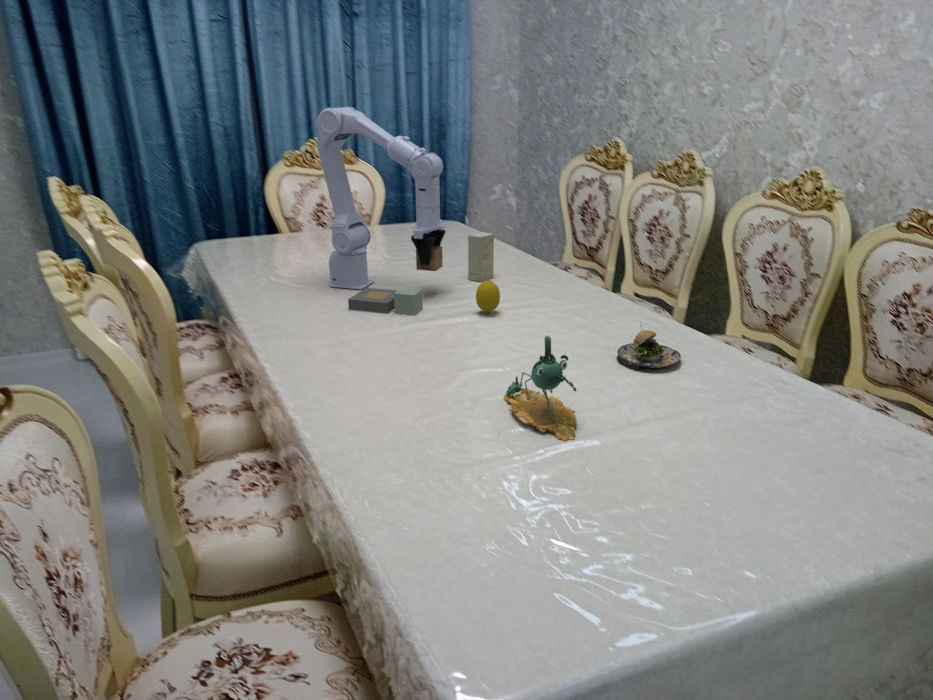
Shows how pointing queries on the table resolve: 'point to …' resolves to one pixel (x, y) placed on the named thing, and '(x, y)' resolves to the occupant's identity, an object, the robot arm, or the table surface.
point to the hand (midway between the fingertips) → (429, 261)
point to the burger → (646, 353)
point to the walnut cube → (434, 262)
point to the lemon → (487, 296)
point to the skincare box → (480, 256)
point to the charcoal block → (373, 300)
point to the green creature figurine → (544, 397)
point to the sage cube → (408, 301)
